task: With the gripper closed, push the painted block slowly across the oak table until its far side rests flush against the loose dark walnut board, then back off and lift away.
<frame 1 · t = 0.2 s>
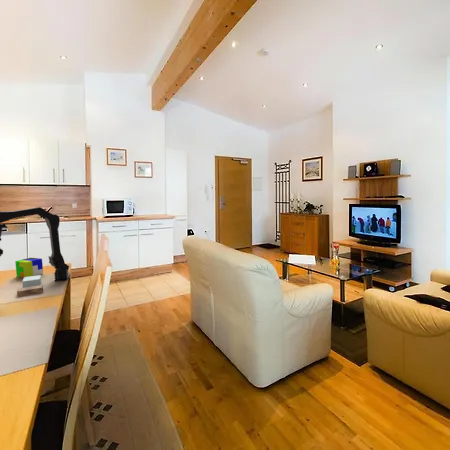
board: (30, 293, 148), on the table
block: (32, 286, 158), on the table
puzzle toy: (30, 275, 180), on the table
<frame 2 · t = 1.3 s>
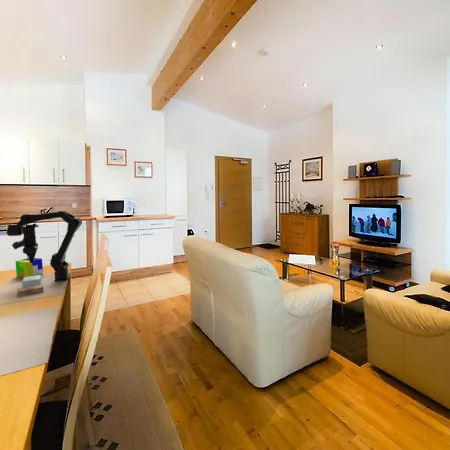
hand: (32, 261, 166), 12 cm above the table, tool pointing down, fingers open, 8 cm apart
nothing on the table moved.
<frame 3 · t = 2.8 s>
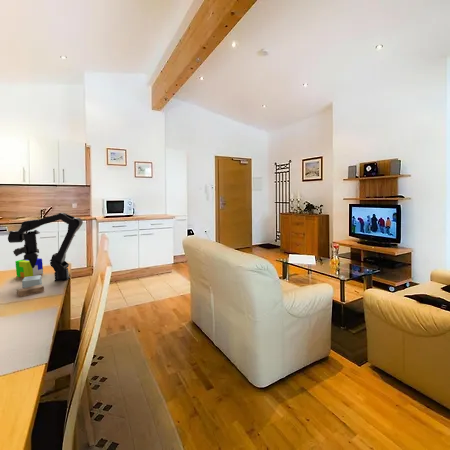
hand: (33, 267, 167), 8 cm above the table, tool pointing down, fingers closed
nothing on the table moved.
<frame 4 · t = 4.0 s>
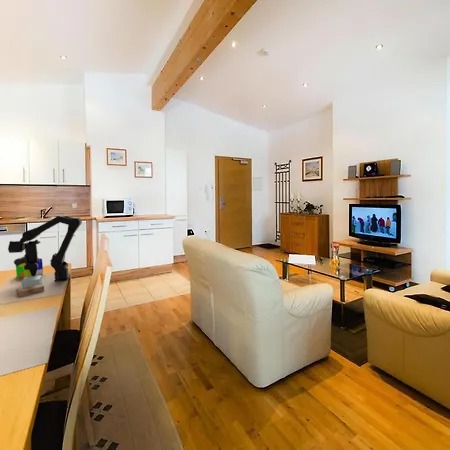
hand: (33, 277, 166), 2 cm above the table, tool pointing down, fingers closed
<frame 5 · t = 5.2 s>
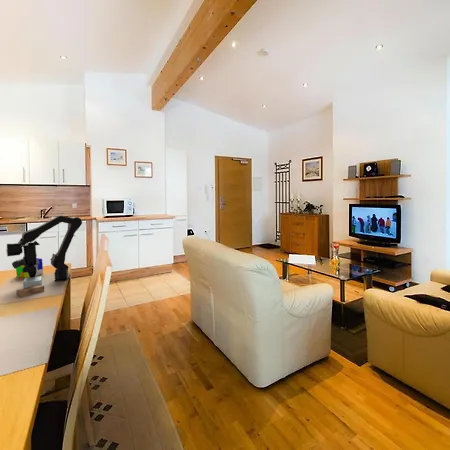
hand: (32, 280, 160), 3 cm above the table, tool pointing down, fingers closed
board: (30, 293, 148), on the table, touching block
block: (33, 288, 156), on the table, touching board, gripper
everything else where it was.
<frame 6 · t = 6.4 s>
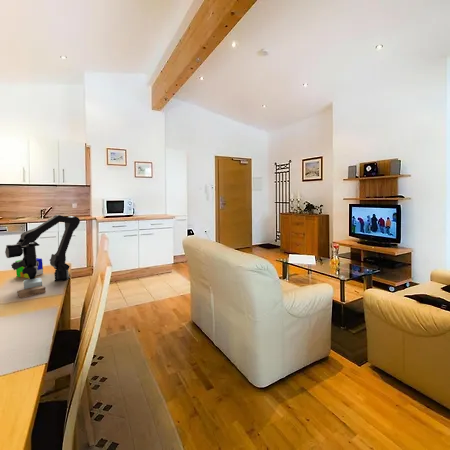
hand: (32, 281, 158), 3 cm above the table, tool pointing down, fingers closed
board: (31, 294, 146), on the table
block: (33, 289, 154), on the table
everything else where it was.
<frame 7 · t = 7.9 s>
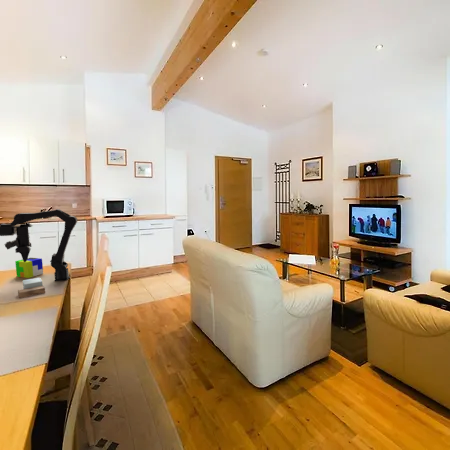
hand: (25, 261, 163), 13 cm above the table, tool pointing down, fingers closed
nothing on the table moved.
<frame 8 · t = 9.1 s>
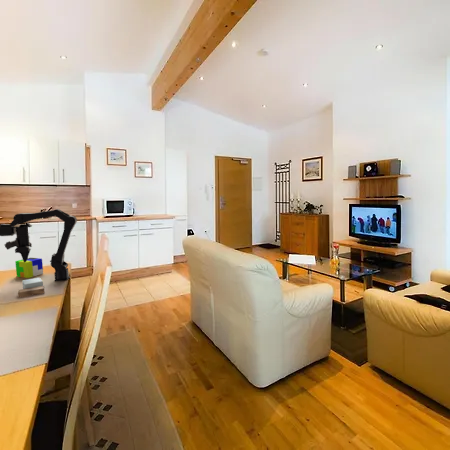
hand: (25, 261, 163), 12 cm above the table, tool pointing down, fingers closed
at the end: block 1.0 cm from the target spot on the table beside the board, on the table; block tilted 0°; block moved 6.0 cm from its start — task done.
